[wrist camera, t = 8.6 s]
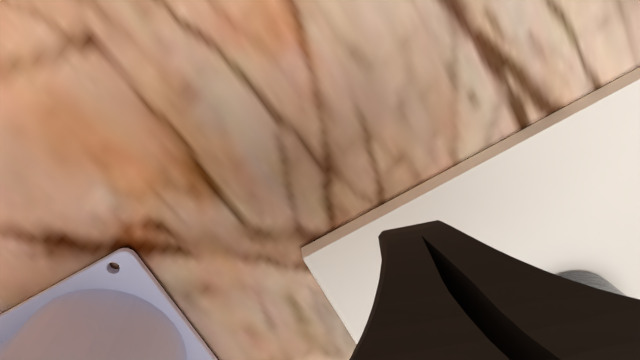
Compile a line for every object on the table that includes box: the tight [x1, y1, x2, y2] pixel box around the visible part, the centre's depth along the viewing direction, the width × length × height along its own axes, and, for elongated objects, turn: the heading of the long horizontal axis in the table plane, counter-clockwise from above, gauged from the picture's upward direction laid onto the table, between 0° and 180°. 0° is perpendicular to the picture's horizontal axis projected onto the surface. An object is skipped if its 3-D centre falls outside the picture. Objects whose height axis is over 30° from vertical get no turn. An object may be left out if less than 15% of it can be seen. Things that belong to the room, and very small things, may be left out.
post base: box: [301, 67, 640, 344], centre depth 24 cm, size 18×18×1 cm
